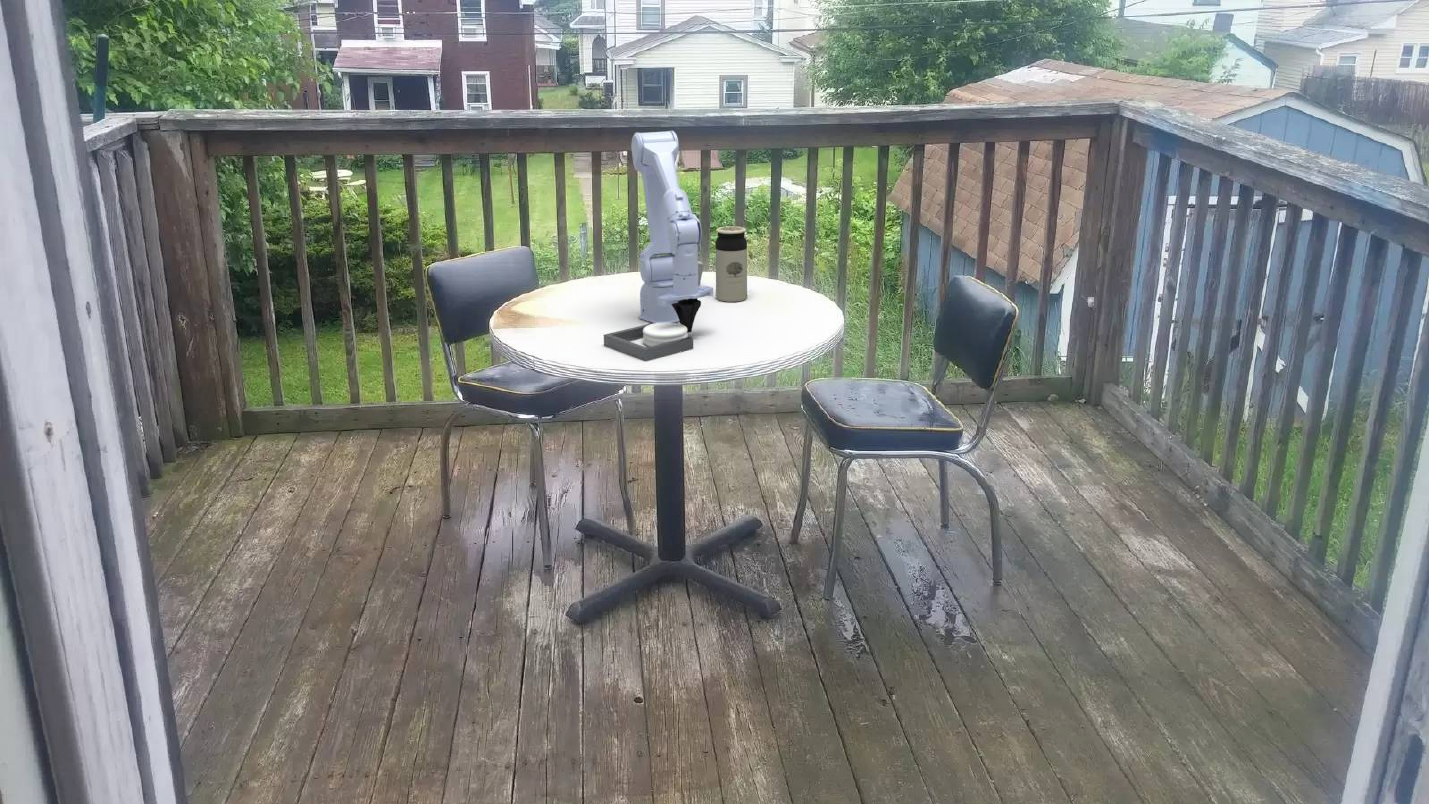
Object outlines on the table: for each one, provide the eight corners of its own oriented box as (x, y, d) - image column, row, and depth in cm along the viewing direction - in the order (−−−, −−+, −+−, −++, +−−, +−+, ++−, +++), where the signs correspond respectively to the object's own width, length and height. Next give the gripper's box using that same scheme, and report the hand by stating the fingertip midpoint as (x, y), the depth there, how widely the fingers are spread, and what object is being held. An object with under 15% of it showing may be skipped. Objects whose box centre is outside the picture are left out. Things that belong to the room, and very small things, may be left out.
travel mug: (716, 294, 291) (715, 225, 285) (747, 294, 291) (747, 225, 284) (715, 302, 283) (714, 232, 277) (746, 302, 283) (746, 232, 277)
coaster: (665, 333, 258) (664, 319, 257) (696, 341, 252) (696, 326, 251) (634, 343, 251) (633, 328, 250) (665, 352, 245) (665, 336, 244)
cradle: (604, 345, 250) (603, 334, 249) (651, 333, 258) (650, 323, 257) (645, 361, 239) (645, 349, 238) (693, 348, 247) (693, 337, 246)
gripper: (671, 281, 243) (672, 341, 247) (721, 270, 252) (722, 328, 256) (651, 275, 248) (653, 334, 252) (701, 265, 257) (702, 322, 261)
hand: (686, 331), depth 255 cm, fingers closed
